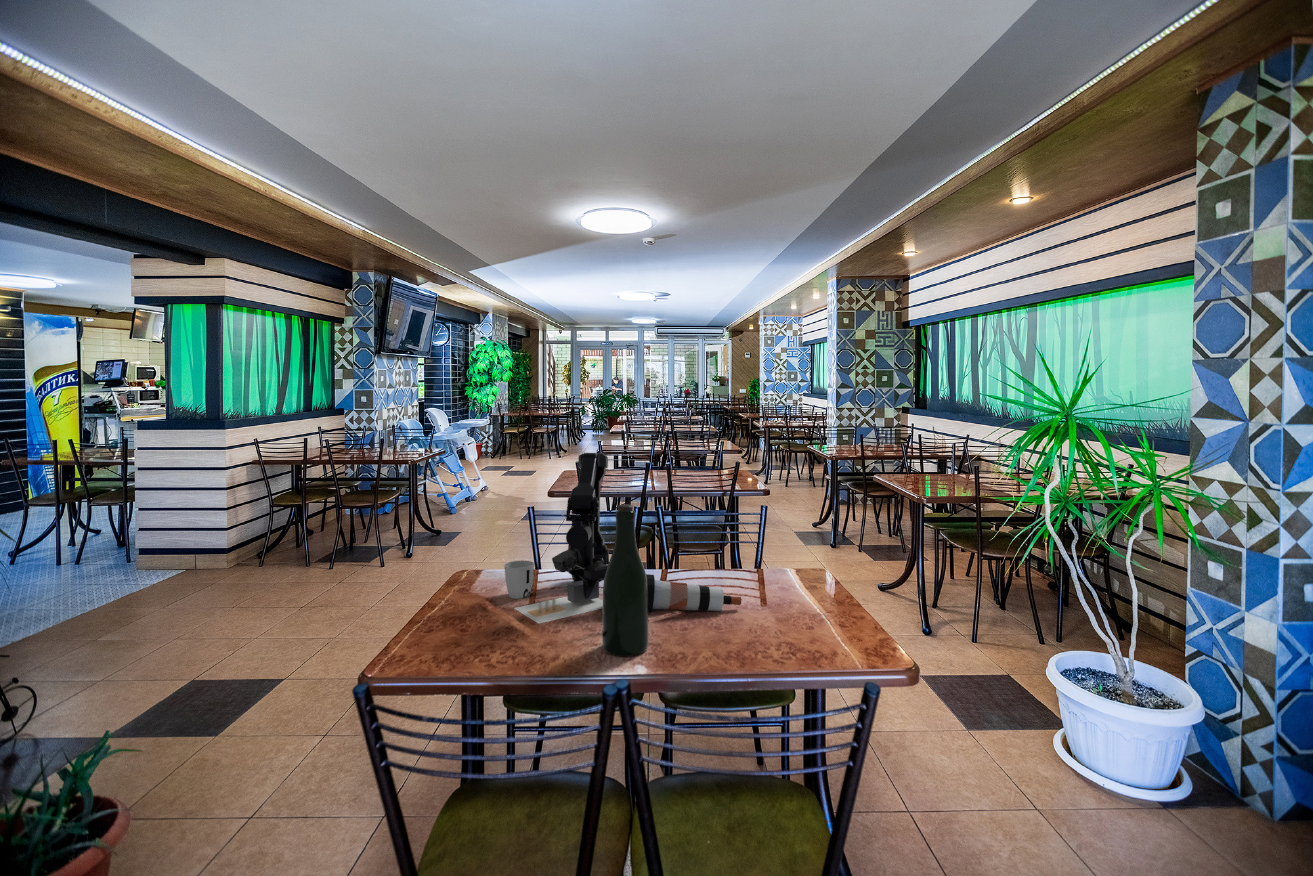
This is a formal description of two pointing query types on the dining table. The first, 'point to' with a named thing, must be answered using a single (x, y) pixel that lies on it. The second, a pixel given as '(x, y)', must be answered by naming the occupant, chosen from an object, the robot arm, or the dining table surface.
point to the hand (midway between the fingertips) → (583, 596)
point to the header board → (558, 609)
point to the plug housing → (580, 592)
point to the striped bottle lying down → (686, 596)
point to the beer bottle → (625, 592)
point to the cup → (519, 578)
